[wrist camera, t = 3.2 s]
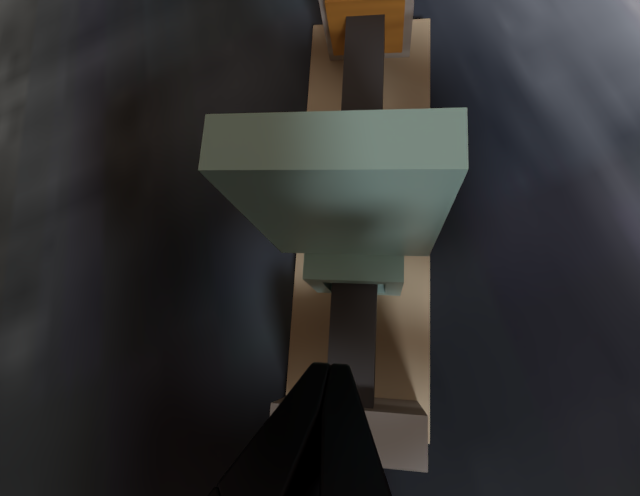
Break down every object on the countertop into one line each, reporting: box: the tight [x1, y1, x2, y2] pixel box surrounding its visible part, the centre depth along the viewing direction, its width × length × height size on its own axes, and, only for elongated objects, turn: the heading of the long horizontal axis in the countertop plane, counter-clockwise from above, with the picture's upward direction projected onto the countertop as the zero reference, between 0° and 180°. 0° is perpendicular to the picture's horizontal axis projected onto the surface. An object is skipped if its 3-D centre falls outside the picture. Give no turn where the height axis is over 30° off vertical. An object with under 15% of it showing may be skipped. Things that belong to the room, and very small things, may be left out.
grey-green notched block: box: [198, 108, 469, 296], centre depth 13 cm, size 3×5×10 cm, turn 87°
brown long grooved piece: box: [270, 0, 430, 473], centre depth 18 cm, size 20×6×6 cm, turn 177°
